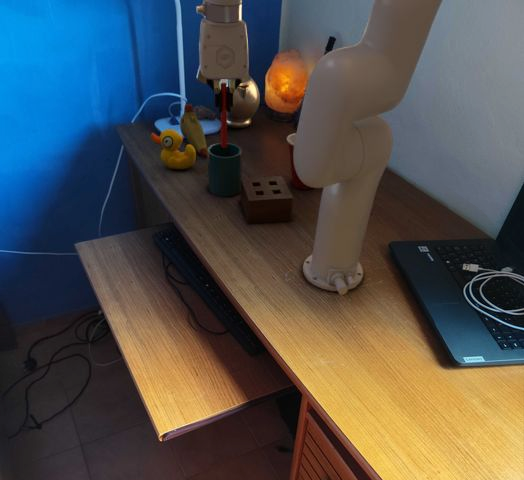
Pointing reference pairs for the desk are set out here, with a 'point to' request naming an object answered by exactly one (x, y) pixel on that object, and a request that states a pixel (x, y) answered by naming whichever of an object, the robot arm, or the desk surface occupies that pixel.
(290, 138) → the plastic cup
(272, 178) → the straw stand
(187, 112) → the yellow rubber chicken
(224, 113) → the straw
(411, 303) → the desk surface
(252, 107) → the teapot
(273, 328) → the desk surface
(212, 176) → the tumbler
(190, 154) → the duckling
